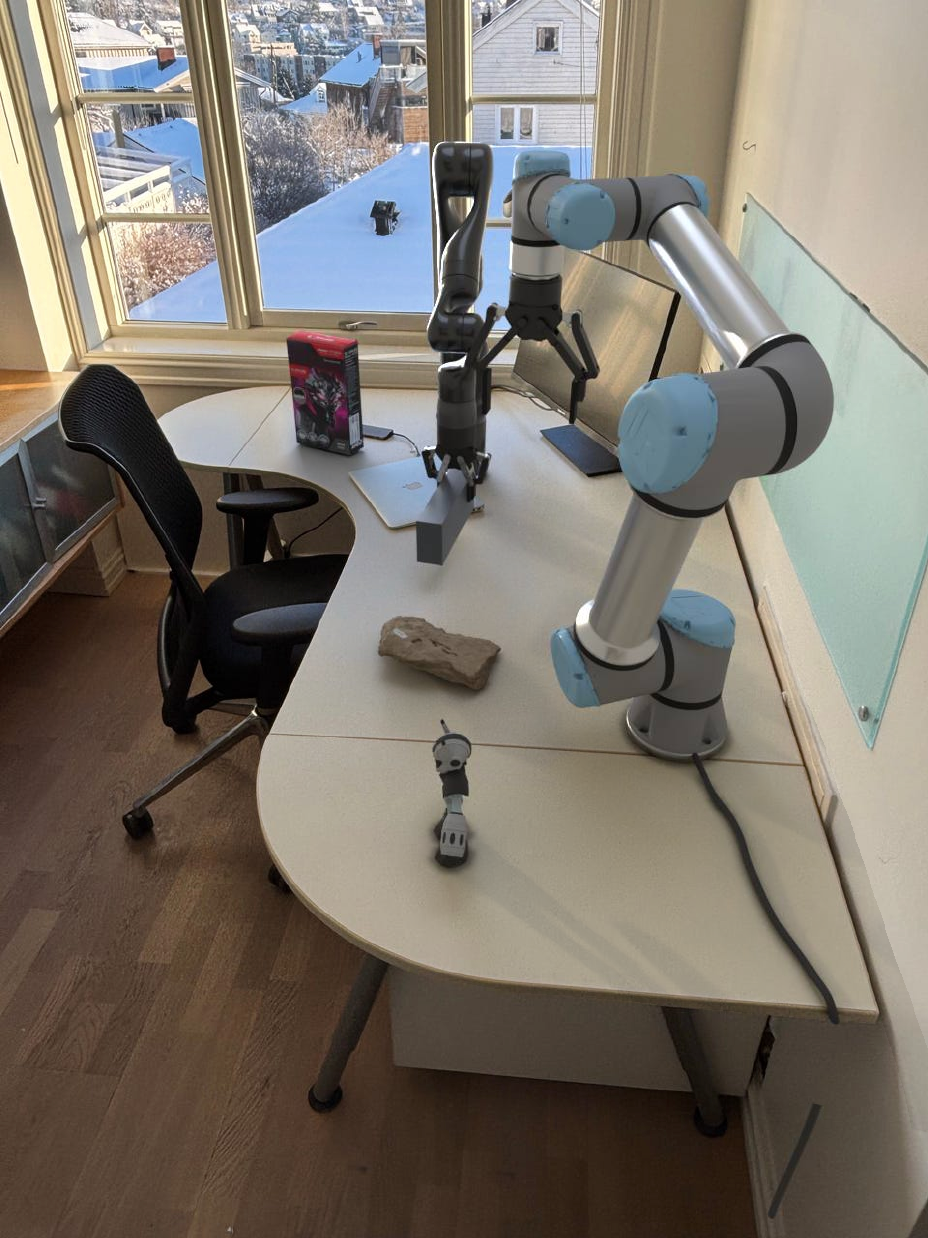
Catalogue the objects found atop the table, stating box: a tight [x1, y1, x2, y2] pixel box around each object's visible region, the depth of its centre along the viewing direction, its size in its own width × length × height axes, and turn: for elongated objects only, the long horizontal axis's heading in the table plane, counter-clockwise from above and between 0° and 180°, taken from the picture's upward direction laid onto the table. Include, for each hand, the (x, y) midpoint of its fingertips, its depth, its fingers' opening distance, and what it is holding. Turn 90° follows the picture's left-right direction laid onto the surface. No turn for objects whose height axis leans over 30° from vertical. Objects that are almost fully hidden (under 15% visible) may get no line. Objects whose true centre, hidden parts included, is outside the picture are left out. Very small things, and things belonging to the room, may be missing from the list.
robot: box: [431, 718, 473, 868], centre depth 118 cm, size 20×5×20 cm, turn 3°
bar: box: [415, 469, 475, 566], centre depth 179 cm, size 23×5×9 cm, turn 165°
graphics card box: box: [285, 330, 365, 456], centre depth 225 cm, size 17×7×27 cm, turn 62°
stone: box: [377, 615, 502, 691], centre depth 155 cm, size 21×15×6 cm
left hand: (456, 498), depth 185 cm, fingers closed on bar, 5 cm apart
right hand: (529, 416), depth 142 cm, fingers open, 13 cm apart
